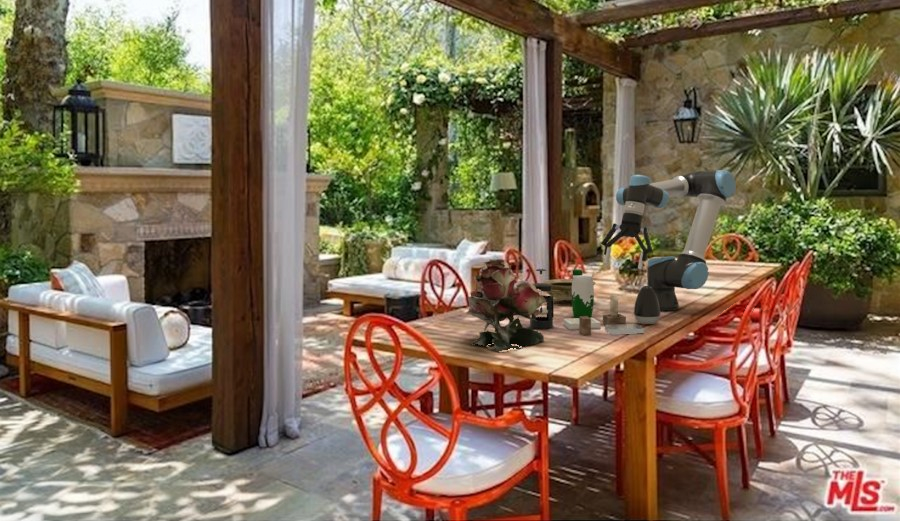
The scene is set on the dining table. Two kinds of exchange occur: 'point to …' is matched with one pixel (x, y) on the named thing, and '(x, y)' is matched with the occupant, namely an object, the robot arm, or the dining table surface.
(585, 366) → the dining table surface
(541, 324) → the french press
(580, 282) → the milk carton
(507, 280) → the rose bouquet
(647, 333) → the dining table surface
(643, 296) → the pump dispenser
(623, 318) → the socket block
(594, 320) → the tray
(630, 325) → the plate
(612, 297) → the dowel
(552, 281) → the ceramic bowl
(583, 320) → the wooden block
